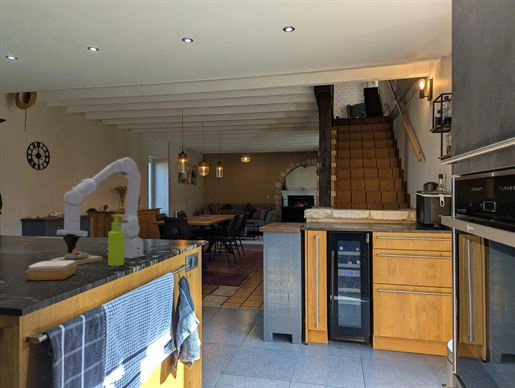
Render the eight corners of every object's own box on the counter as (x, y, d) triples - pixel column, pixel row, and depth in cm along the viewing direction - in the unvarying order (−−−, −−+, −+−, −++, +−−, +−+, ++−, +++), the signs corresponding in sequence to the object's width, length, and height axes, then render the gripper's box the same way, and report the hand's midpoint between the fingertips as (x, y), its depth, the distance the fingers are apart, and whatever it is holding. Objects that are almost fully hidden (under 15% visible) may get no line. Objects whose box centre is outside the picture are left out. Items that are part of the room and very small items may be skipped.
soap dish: (77, 274, 123) (77, 259, 123) (65, 281, 113) (65, 265, 113) (40, 274, 122) (40, 260, 122) (24, 281, 112) (24, 266, 112)
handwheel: (68, 255, 149) (68, 246, 149) (91, 255, 151) (91, 245, 151) (61, 259, 140) (61, 249, 140) (85, 258, 142) (85, 248, 142)
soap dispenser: (120, 266, 135) (120, 215, 135) (105, 265, 136) (105, 214, 136) (129, 263, 140) (129, 214, 140) (114, 262, 142) (114, 213, 142)
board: (102, 259, 148) (102, 256, 148) (71, 265, 136) (71, 262, 136) (81, 256, 155) (81, 253, 155) (50, 262, 142) (50, 258, 142)
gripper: (50, 219, 141) (49, 253, 141) (77, 221, 136) (77, 256, 136) (65, 218, 148) (64, 250, 148) (91, 220, 143) (91, 253, 143)
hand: (71, 253), depth 142 cm, fingers closed, pressing on handwheel
